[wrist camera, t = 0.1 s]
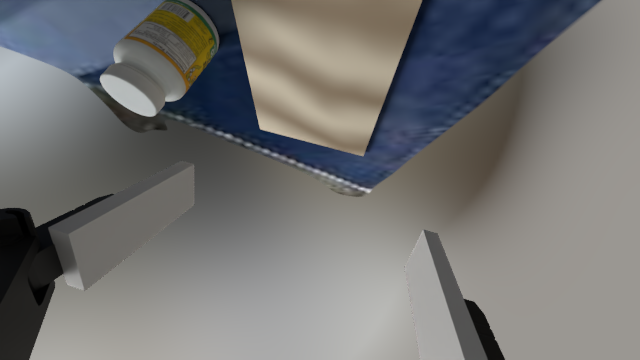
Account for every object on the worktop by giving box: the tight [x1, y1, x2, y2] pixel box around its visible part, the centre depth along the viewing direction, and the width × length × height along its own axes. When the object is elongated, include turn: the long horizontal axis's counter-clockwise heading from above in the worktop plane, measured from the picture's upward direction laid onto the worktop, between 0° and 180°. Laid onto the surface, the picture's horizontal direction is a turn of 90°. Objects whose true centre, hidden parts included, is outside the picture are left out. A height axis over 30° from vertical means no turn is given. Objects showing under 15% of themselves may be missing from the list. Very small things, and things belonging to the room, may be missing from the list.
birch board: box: [231, 0, 422, 156], centre depth 24 cm, size 20×14×1 cm
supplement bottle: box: [100, 0, 219, 116], centre depth 21 cm, size 5×5×10 cm
